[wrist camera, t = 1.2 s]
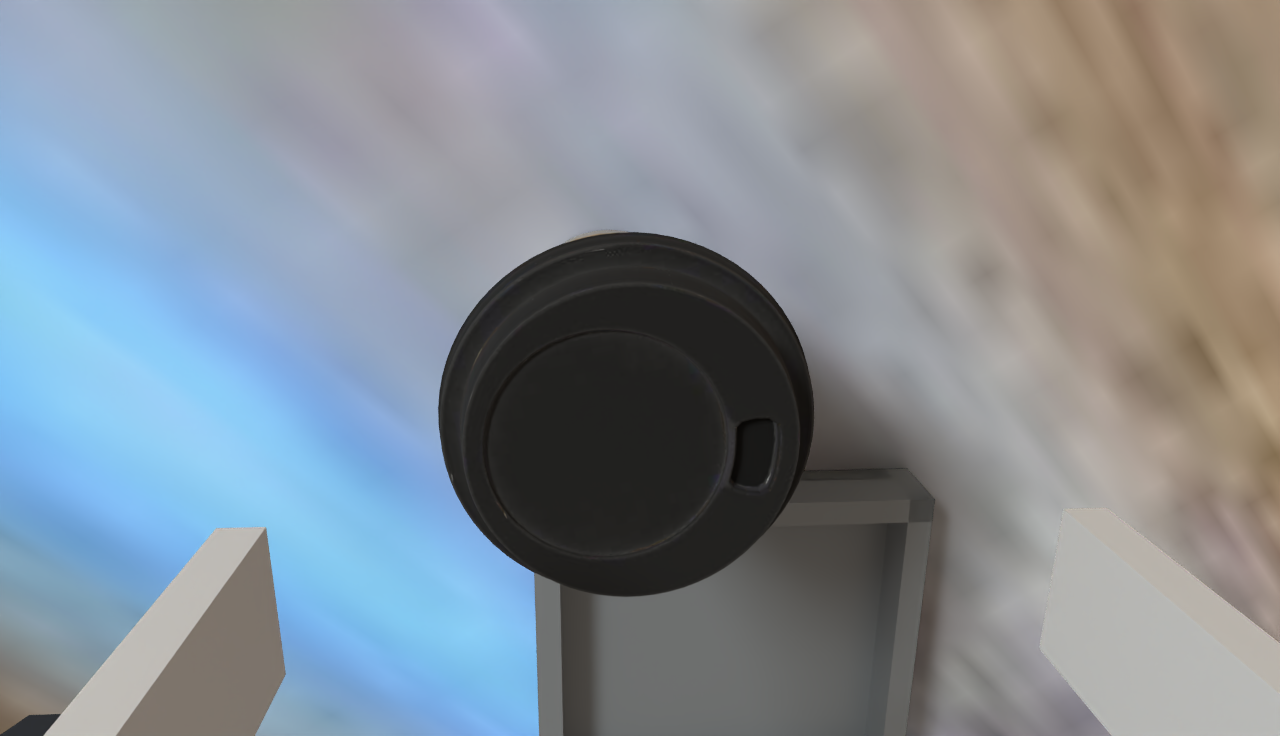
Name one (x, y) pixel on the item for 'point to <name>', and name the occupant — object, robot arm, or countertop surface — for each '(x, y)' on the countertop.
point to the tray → (756, 628)
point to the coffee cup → (626, 413)
